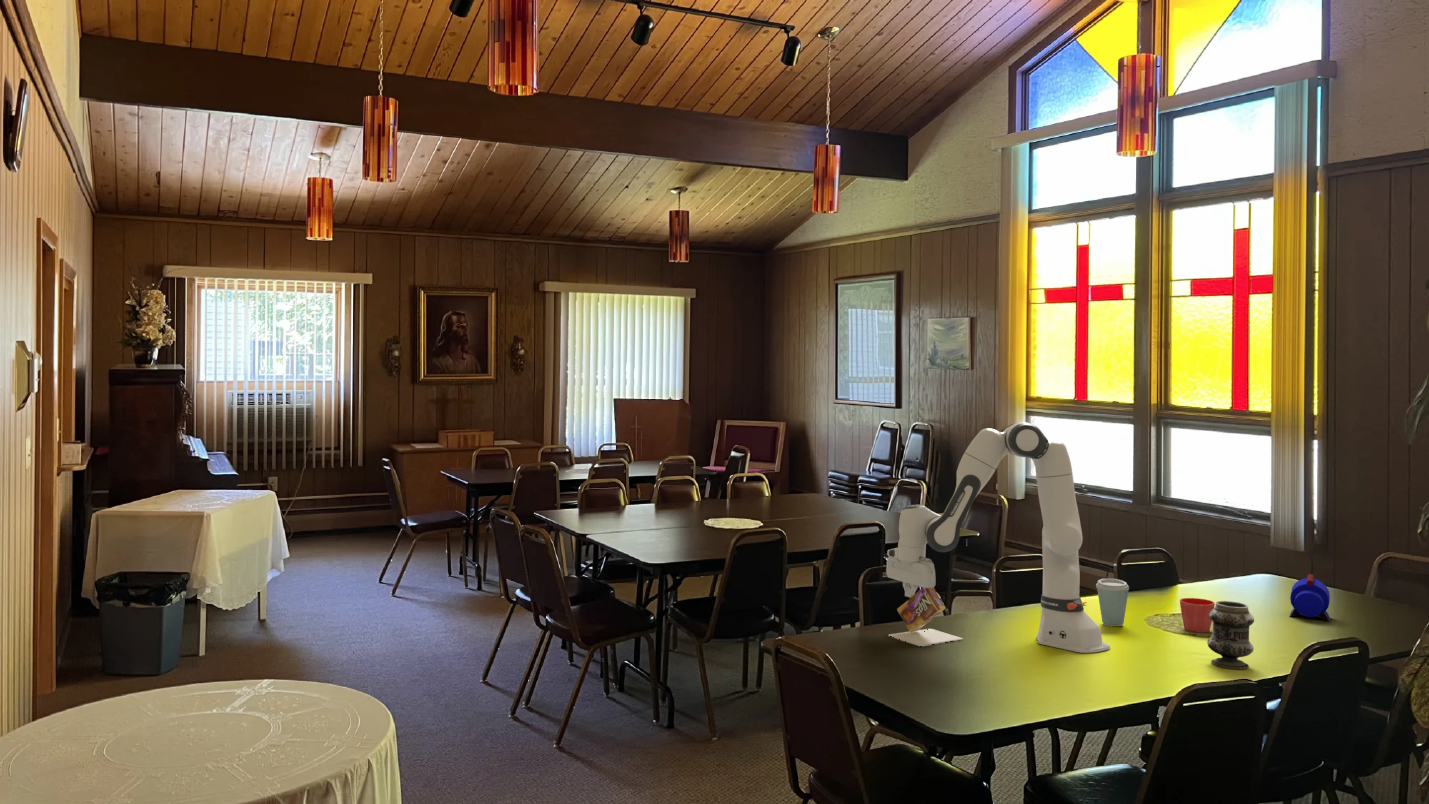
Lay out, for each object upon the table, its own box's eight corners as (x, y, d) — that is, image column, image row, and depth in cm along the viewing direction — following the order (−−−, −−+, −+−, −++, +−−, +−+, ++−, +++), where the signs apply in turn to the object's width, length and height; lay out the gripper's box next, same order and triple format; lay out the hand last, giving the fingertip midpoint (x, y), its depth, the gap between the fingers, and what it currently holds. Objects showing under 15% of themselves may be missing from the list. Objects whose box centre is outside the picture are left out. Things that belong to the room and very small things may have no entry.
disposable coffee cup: (1133, 628, 338) (1134, 584, 338) (1101, 628, 339) (1102, 583, 339) (1121, 621, 349) (1122, 578, 349) (1090, 621, 349) (1091, 577, 349)
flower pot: (1179, 631, 336) (1180, 602, 335) (1178, 624, 346) (1179, 596, 346) (1215, 635, 332) (1216, 605, 331) (1212, 628, 342) (1213, 599, 342)
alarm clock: (1329, 616, 363) (1330, 575, 362) (1329, 623, 352) (1330, 580, 352) (1290, 612, 369) (1291, 571, 369) (1288, 618, 359) (1289, 576, 359)
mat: (963, 640, 320) (963, 638, 320) (920, 646, 310) (920, 645, 310) (930, 630, 333) (930, 628, 333) (888, 636, 323) (888, 634, 323)
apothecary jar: (1251, 673, 286) (1252, 609, 286) (1204, 666, 293) (1205, 604, 293) (1254, 663, 297) (1256, 602, 297) (1209, 657, 303) (1210, 597, 303)
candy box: (918, 630, 328) (946, 608, 318) (910, 633, 326) (937, 611, 316) (905, 606, 332) (932, 583, 322) (896, 609, 330) (923, 586, 320)
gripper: (941, 559, 320) (939, 602, 320) (898, 548, 338) (896, 590, 338) (926, 560, 317) (924, 604, 317) (883, 549, 334) (882, 591, 335)
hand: (909, 596), depth 328 cm, fingers closed
